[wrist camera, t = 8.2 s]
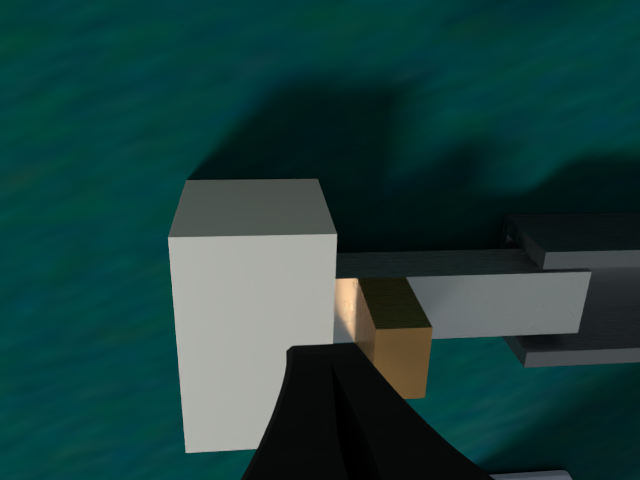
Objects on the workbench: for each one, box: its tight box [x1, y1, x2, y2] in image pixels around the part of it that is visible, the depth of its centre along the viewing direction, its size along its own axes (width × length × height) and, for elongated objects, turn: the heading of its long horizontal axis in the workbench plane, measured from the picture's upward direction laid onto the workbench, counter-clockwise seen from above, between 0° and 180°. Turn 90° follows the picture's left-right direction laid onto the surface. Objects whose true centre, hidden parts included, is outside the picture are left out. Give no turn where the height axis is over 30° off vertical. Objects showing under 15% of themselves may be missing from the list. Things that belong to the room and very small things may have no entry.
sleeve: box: [499, 212, 640, 367], centre depth 22 cm, size 4×10×3 cm, turn 88°
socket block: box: [168, 179, 337, 453], centre depth 20 cm, size 7×4×5 cm, turn 179°
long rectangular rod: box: [333, 249, 591, 399], centre depth 19 cm, size 2×12×5 cm, turn 88°
